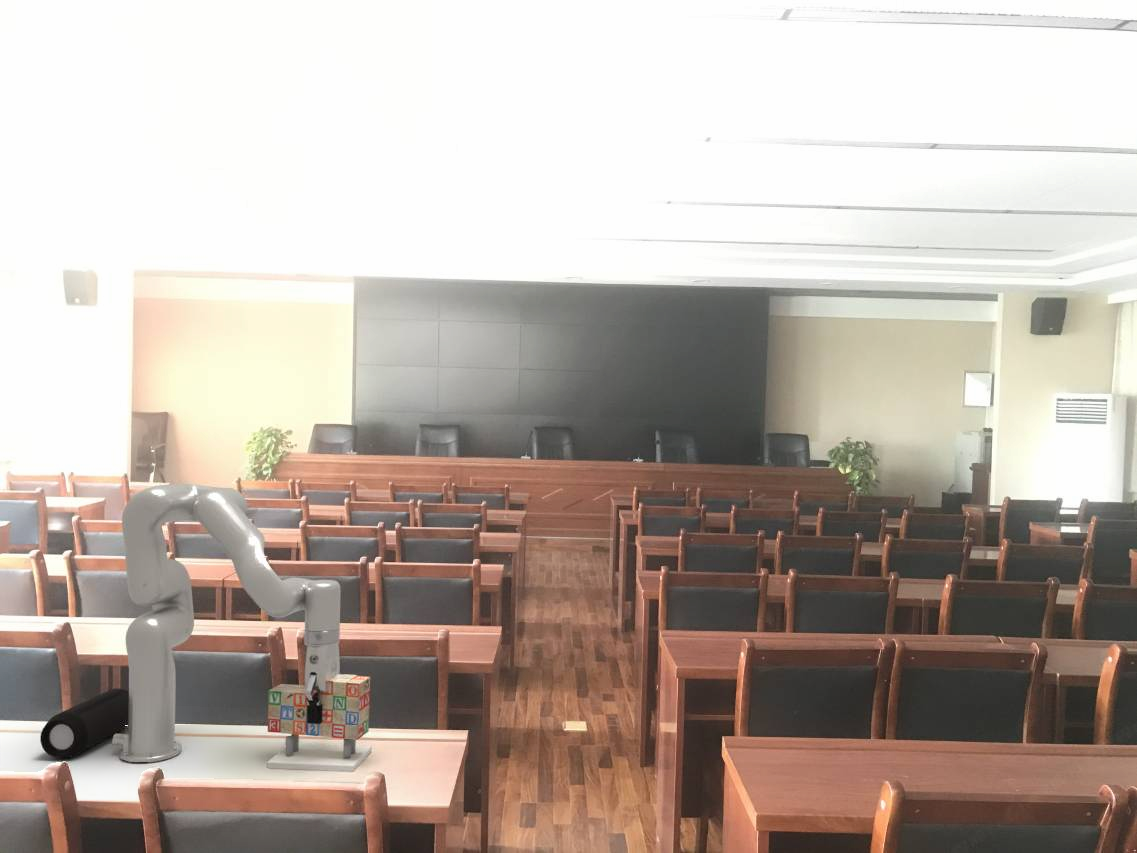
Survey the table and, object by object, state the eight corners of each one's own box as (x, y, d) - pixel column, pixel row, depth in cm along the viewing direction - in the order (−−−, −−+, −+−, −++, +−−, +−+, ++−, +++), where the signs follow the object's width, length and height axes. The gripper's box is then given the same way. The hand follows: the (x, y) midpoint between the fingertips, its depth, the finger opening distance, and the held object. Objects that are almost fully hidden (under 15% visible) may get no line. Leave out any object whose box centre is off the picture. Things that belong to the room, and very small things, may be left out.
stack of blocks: (266, 733, 202) (267, 676, 202) (280, 724, 208) (281, 670, 209) (358, 740, 198) (359, 682, 199) (369, 731, 205) (370, 675, 205)
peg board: (266, 768, 197) (267, 743, 198) (290, 748, 210) (290, 725, 211) (353, 771, 196) (353, 747, 196) (371, 751, 209) (371, 728, 209)
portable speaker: (103, 726, 226) (104, 685, 226) (142, 727, 225) (142, 686, 226) (35, 761, 201) (36, 715, 201) (79, 763, 200) (80, 716, 200)
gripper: (324, 645, 195) (323, 731, 194) (351, 629, 212) (349, 707, 212) (290, 644, 195) (288, 729, 195) (319, 628, 213) (317, 706, 212)
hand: (320, 717), depth 203 cm, fingers closed on stack of blocks, 6 cm apart
